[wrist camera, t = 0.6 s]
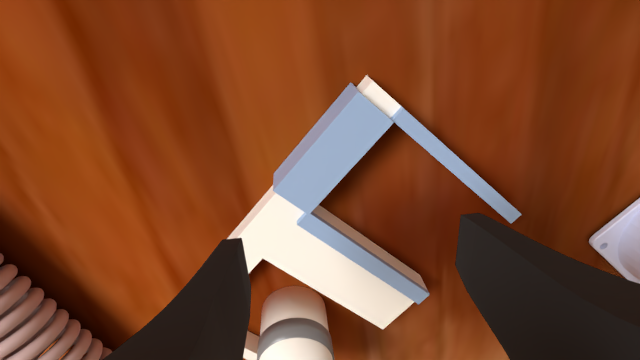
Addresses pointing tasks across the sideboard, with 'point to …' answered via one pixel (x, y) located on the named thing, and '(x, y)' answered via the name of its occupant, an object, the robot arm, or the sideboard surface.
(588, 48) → the sideboard surface
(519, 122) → the sideboard surface
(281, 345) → the banded white cylinder
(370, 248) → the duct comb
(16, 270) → the coil
